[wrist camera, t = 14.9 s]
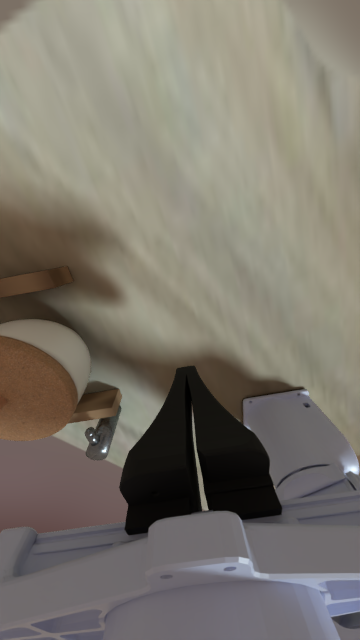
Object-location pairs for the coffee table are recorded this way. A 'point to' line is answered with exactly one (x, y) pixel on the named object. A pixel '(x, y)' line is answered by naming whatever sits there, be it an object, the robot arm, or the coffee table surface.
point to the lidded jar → (40, 377)
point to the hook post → (101, 437)
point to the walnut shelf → (89, 403)
